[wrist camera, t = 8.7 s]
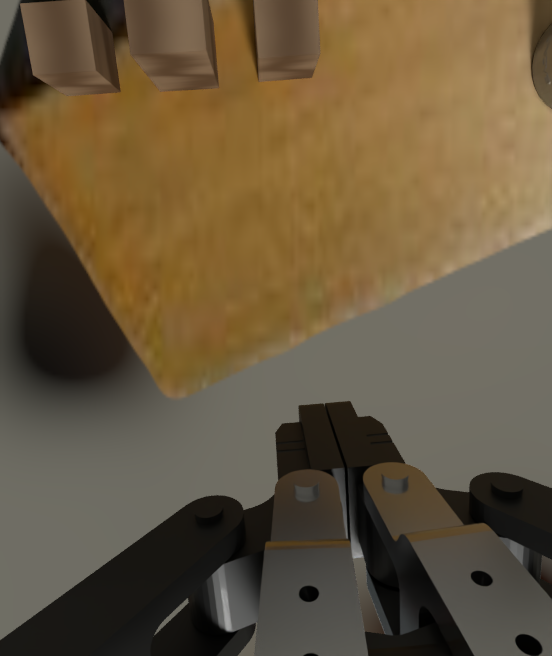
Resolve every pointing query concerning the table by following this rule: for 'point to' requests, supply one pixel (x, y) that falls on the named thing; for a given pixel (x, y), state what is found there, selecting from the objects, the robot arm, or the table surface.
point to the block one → (286, 38)
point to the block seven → (70, 47)
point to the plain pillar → (173, 42)
